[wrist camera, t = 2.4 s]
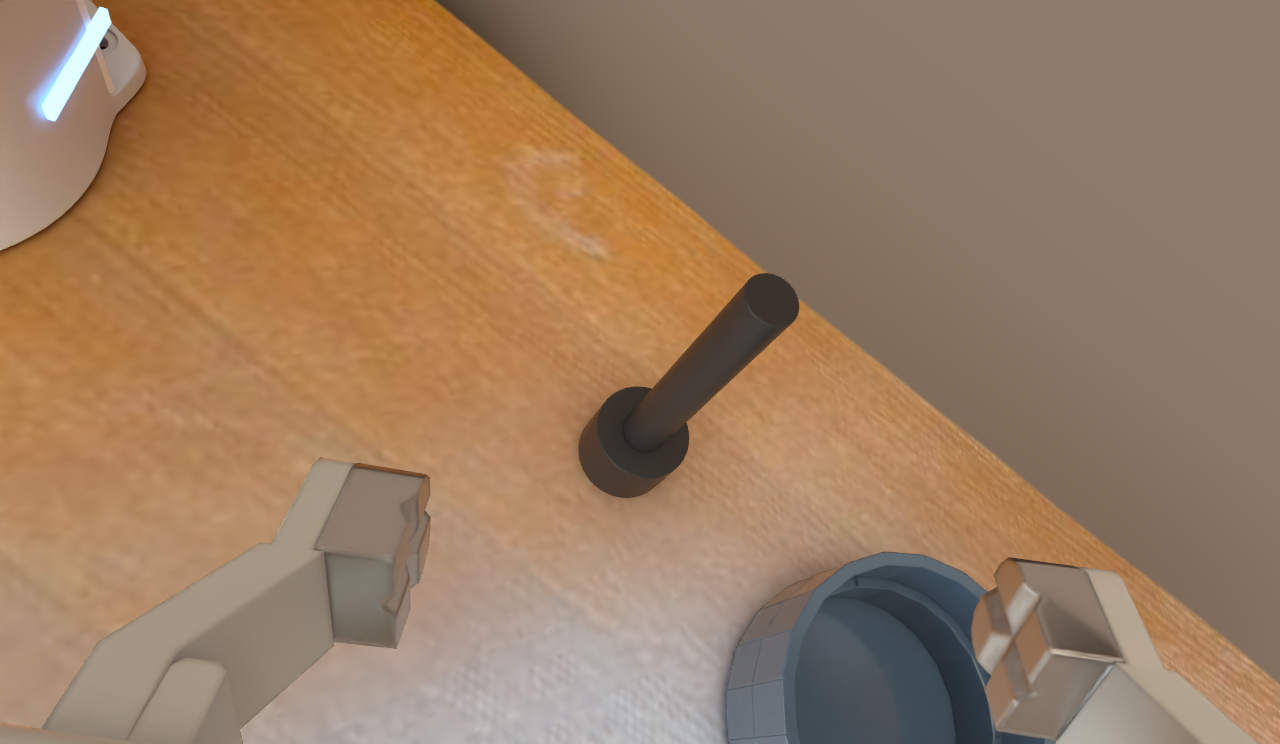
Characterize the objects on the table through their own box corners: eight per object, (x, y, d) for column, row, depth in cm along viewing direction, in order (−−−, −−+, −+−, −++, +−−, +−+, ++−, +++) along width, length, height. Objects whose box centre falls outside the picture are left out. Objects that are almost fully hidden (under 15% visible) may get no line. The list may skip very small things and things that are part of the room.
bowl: (666, 680, 40) (720, 665, 35) (855, 530, 46) (924, 498, 41) (839, 945, 38) (923, 971, 33) (1012, 751, 44) (1106, 747, 39)
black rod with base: (560, 437, 43) (684, 271, 29) (632, 395, 45) (779, 222, 31) (612, 514, 42) (764, 383, 28) (682, 469, 44) (856, 325, 30)
